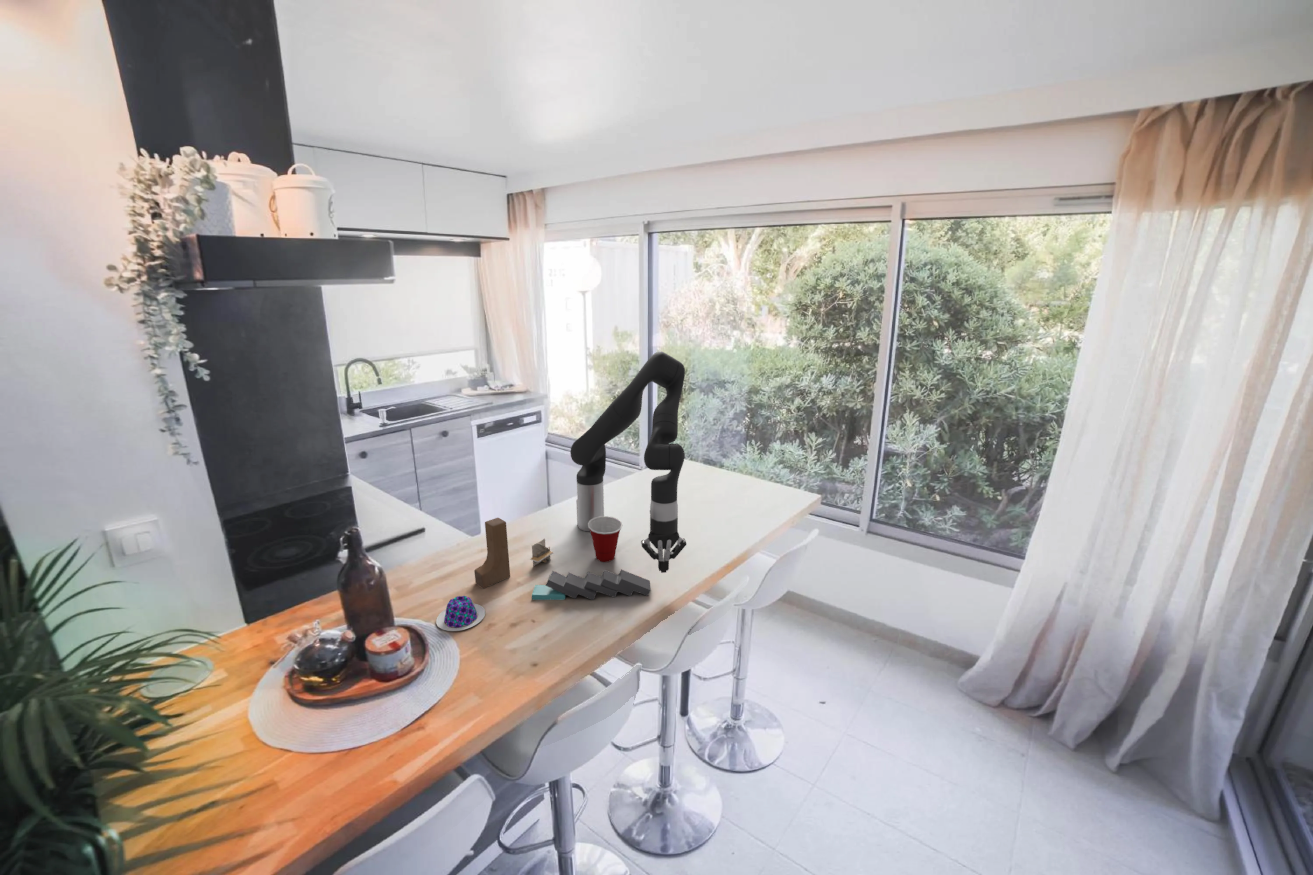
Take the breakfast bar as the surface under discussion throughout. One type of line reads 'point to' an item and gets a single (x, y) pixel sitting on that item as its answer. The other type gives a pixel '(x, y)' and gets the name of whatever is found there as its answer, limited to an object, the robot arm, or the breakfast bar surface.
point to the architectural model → (540, 552)
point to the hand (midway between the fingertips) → (663, 571)
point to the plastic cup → (605, 536)
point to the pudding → (460, 614)
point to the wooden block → (494, 555)
